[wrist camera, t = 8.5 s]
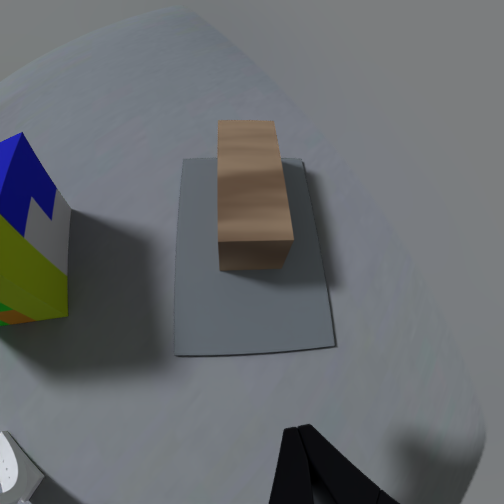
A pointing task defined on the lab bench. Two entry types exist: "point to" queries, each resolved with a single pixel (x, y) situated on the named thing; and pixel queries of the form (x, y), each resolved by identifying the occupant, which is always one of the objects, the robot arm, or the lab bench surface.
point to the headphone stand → (16, 472)
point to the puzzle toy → (31, 238)
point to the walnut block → (251, 197)
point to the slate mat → (246, 278)
